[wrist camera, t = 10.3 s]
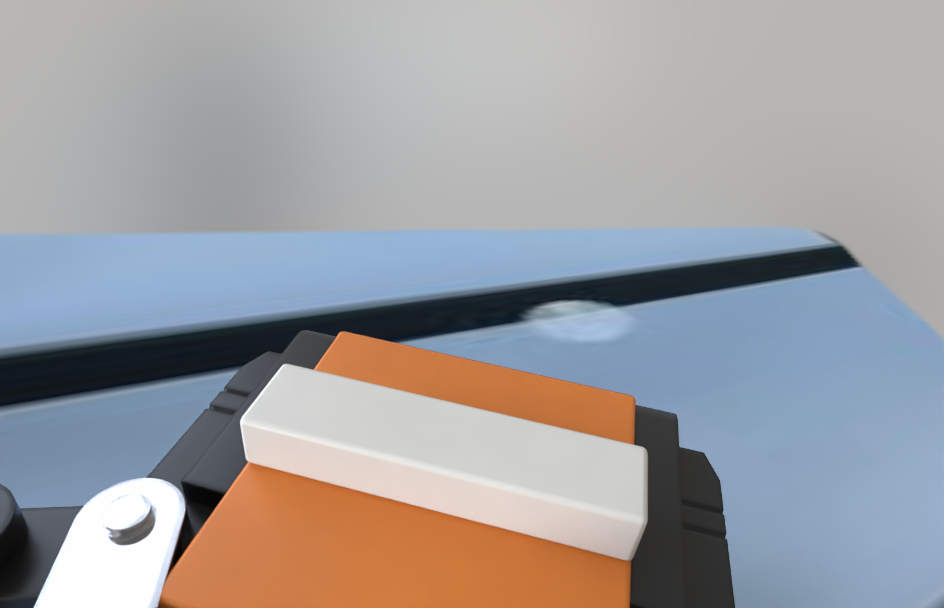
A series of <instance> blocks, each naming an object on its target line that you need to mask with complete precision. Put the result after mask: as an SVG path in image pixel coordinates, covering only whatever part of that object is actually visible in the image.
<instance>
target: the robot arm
mask: <svg viewBox="0 0 944 608" xmlns="http://www.w3.org/2000/svg"><path fill="white" fill-rule="evenodd" d="M335 339H336V337H334V336H330V335H325V334H321V333H316V332H312V331H307V330H303V331H301V332H299V333H298V334H297V336H296V337H295V338H294V339H293V341H292V342H291V343H290V344H289V346H288V347H287V348H286V349H285V351H284V352H283V353H282V354H279V353H274V352H270V351H268V352H266V353H264V354H263V355H261V356H259V357H258V358H256V359H254V360H253V361H251V362H249V363H247V364H246V365H244V366H242V367H241V369H240V370H239V371H238V372H237V373H236V374H235V376H234V377H233V378H232V379H231V380H230V381H229V383H228V384H227V385H226V386H225V389H224V391H223V392H222V391H221V392H220V393H219V394H218V395H217V397H216V398H215V399H214V400H213V401H212V402H211V403H210V407H209V409H205V410H204V412H203V413H202V414H201V415H200V416H199V417H198V419H197V420H196V421H195V422H194V423H193V424H192V426H191V427H190V428H189V429H188V430H187V431H186V433H185V434H184V435H183V436H182V437H181V438H180V439H179V441H178V442H177V443H176V444H175V445H174V446H173V448H172V449H171V450H170V451H169V452H168V453H167V455H166V456H165V457H164V458H163V459H162V460H161V462H160V463H159V464H158V465H157V466H156V467H155V469H154V470H153V471H152V472H151V473H150V474H149V475H148V476H147V477H146V478H139V479H133V480H128V481H124V482H122V483H119V484H116V485H114V486H112V487H109V488H107V489H106V490H104V491H102V492H101V493H99V494H97V495H96V496H95V497H94V498H92V499H91V500H90V501H89V502H88V503H87V504H86V505H85V506H76V507H50V508H22V509H20V508H19V506H18V504H17V502H16V500H15V498H14V496H13V495H12V493H11V492H10V490H8V489H7V488H6V487H5V486H3V485H1V484H0V608H161V607H160V596H161V592H162V589H163V586H164V583H165V580H166V578H167V576H168V575H169V573H170V572H171V570H172V569H173V567H174V566H175V565H176V563H177V562H178V560H179V559H180V558H181V556H182V555H183V553H184V552H185V550H186V549H187V548H188V546H189V545H190V543H191V542H192V541H193V539H194V538H195V536H196V535H197V534H198V532H199V531H200V529H201V528H202V526H203V525H204V524H205V522H206V521H207V519H208V518H209V517H210V515H211V514H212V512H213V511H214V510H215V508H216V507H217V505H218V504H219V502H220V501H221V500H222V498H223V497H224V495H225V494H226V493H227V491H228V490H229V488H230V487H231V486H232V484H233V483H234V481H235V480H236V478H237V477H238V476H239V474H240V473H241V471H242V470H243V469H244V467H245V466H246V464H247V463H248V461H247V460H246V457H245V451H244V445H243V439H242V433H241V426H240V421H241V418H242V416H243V415H244V414H245V412H246V411H247V410H248V408H249V407H250V406H251V405H252V403H253V402H254V401H255V400H256V398H257V397H258V396H259V394H260V393H261V392H262V391H263V389H264V388H265V387H266V385H267V384H268V383H269V382H270V380H271V379H272V378H273V376H274V375H275V374H276V373H277V371H278V370H279V369H280V368H281V366H282V365H284V364H291V365H295V366H300V367H304V368H308V369H312V370H314V368H315V367H316V365H317V364H318V363H319V361H320V360H321V358H322V357H323V356H324V354H325V353H326V351H327V350H328V348H329V347H330V346H331V344H332V343H333V341H334V340H335ZM634 445H637V446H641V447H644V448H645V449H646V450H647V453H648V522H647V525H646V527H645V530H644V532H643V535H642V537H641V540H640V542H639V545H638V547H637V550H636V552H635V555H634V557H633V559H632V560H631V588H630V608H735V603H734V595H733V586H732V578H731V569H730V561H729V552H728V544H727V540H726V539H725V536H726V527H725V519H724V515H723V502H722V493H721V485H720V480H719V478H718V476H717V475H716V473H715V471H714V469H713V468H712V466H711V464H710V463H709V461H708V459H707V457H706V456H705V454H704V453H703V452H698V451H694V450H690V449H685V448H681V447H679V436H678V419H677V415H676V414H674V413H669V412H665V411H661V410H656V409H652V408H647V407H643V406H638V405H636V407H635V443H634Z"/></svg>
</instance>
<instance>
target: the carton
mask: <svg viewBox="0 0 944 608" xmlns="http://www.w3.org/2000/svg"><path fill="white" fill-rule="evenodd" d="M635 407H636V401H635V398H634V397H633V396H631V395H626V394H622V393H618V392H613V391H609V390H604V389H600V388H595V387H591V386H586V385H582V384H577V383H573V382H568V381H564V380H559V379H555V378H550V377H546V376H541V375H537V374H532V373H528V372H523V371H519V370H515V369H510V368H506V367H501V366H497V365H492V364H488V363H483V362H479V361H474V360H470V359H465V358H461V357H456V356H452V355H447V354H443V353H438V352H434V351H429V350H425V349H420V348H416V347H412V346H407V345H403V344H398V343H394V342H389V341H385V340H380V339H376V338H371V337H367V336H362V335H358V334H353V333H349V332H344V331H343V332H340V333H339V334H338V336H337V337H336V339H335V340H334V341H333V343H332V344H331V346H330V347H329V348H328V350H327V351H326V353H325V354H324V356H323V357H322V358H321V360H320V361H319V363H318V364H317V365H316V367H315V368H314V370H312V369H308V368H304V367H300V366H295V365H291V364H284V365H282V366H281V368H280V369H279V370H278V371H277V373H276V374H275V375H274V376H273V378H272V379H271V380H270V382H269V383H268V384H267V385H266V387H265V388H264V389H263V391H262V392H261V393H260V394H259V396H258V397H257V398H256V400H255V401H254V402H253V403H252V405H251V406H250V407H249V408H248V410H247V411H246V412H245V414H244V415H243V416H242V418H241V421H240V426H241V433H242V439H243V445H244V451H245V457H246V460H247V461H248V463H247V464H246V466H245V467H244V469H243V470H242V471H241V473H240V474H239V476H238V477H237V478H236V480H235V481H234V483H233V484H232V486H231V487H230V488H229V490H228V491H227V493H226V494H225V495H224V497H223V498H222V500H221V501H220V502H219V504H218V505H217V507H216V508H215V510H214V511H213V512H212V514H211V515H210V517H209V518H208V519H207V521H206V522H205V524H204V525H203V526H202V528H201V529H200V531H199V532H198V534H197V535H196V536H195V538H194V539H193V541H192V542H191V543H190V545H189V546H188V548H187V549H186V550H185V552H184V553H183V555H182V556H181V558H180V559H179V560H178V562H177V563H176V565H175V566H174V567H173V569H172V570H171V572H170V573H169V575H168V576H167V578H166V580H165V583H164V586H163V589H162V592H161V596H160V607H161V608H630V588H631V560H632V559H633V557H634V555H635V552H636V550H637V547H638V545H639V542H640V540H641V537H642V535H643V532H644V530H645V527H646V525H647V522H648V453H647V450H646V449H645V448H644V447H641V446H637V445H634V443H635Z"/></svg>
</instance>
